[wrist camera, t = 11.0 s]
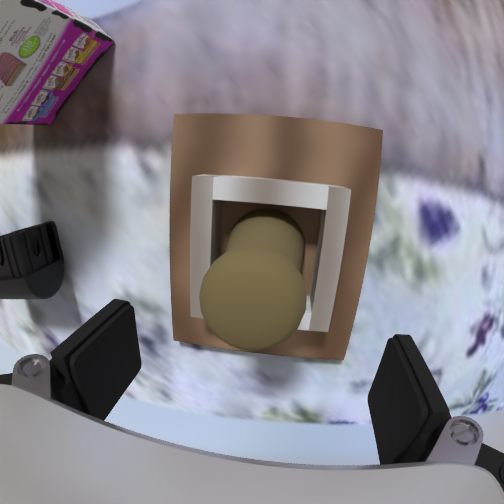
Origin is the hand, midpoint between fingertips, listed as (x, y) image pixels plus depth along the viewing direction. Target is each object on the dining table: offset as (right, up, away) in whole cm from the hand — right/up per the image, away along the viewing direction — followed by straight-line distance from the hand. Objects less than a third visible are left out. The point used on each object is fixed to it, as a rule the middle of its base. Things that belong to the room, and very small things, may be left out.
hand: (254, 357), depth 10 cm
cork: (+1, +4, +13) cm, 14 cm away
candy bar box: (-18, +22, +12) cm, 31 cm away
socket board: (+1, +4, +14) cm, 15 cm away
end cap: (-25, +3, +18) cm, 31 cm away
